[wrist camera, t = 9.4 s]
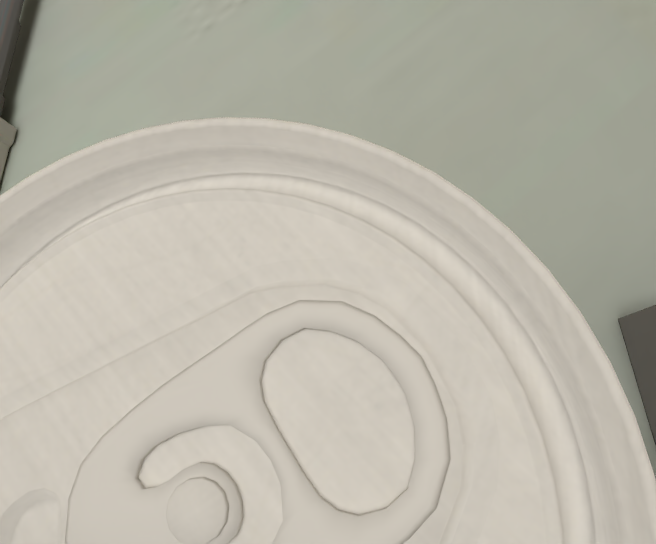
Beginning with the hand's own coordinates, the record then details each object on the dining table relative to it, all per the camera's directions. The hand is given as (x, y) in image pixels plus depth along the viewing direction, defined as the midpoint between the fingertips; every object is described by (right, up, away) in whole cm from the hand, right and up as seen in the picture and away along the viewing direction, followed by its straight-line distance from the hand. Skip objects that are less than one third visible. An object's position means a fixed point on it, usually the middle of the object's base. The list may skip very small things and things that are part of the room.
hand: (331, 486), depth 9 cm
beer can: (+1, -1, +9) cm, 9 cm away
